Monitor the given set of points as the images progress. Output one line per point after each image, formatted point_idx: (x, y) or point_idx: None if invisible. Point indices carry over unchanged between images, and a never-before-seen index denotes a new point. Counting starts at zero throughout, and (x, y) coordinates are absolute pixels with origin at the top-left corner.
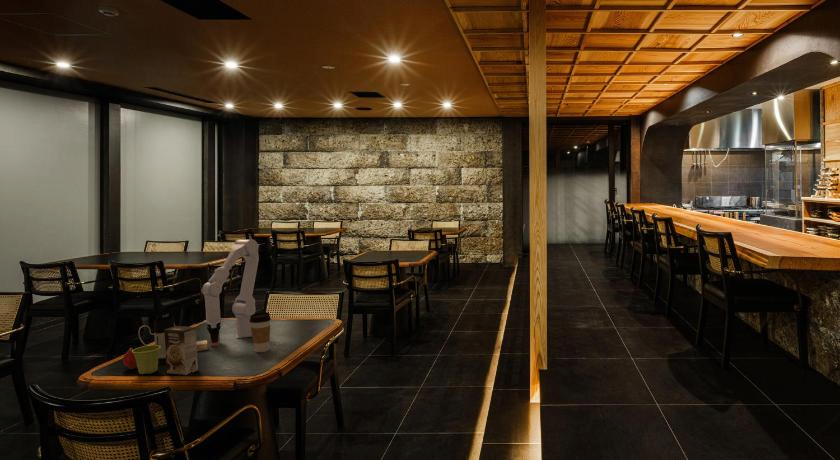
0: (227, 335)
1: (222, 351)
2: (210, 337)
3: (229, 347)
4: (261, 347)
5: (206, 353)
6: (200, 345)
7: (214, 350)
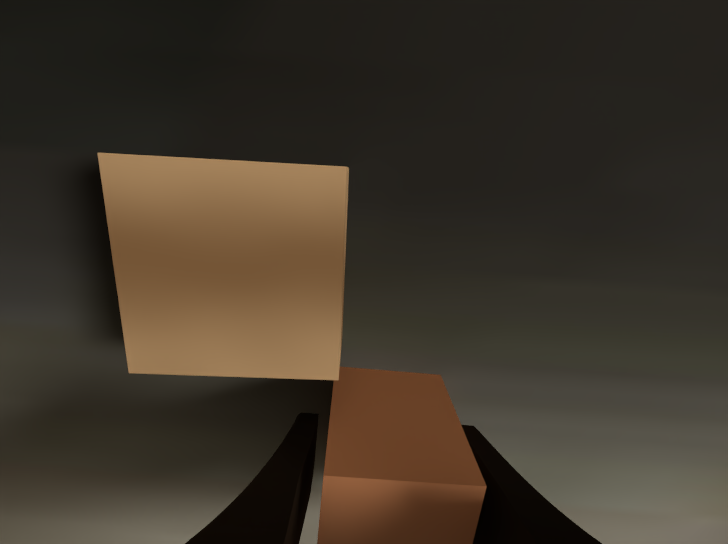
0: (671, 539)
1: (28, 450)
2: (328, 448)
3: (162, 514)
4: None
5: (6, 306)
6: (127, 278)
7: (107, 389)
